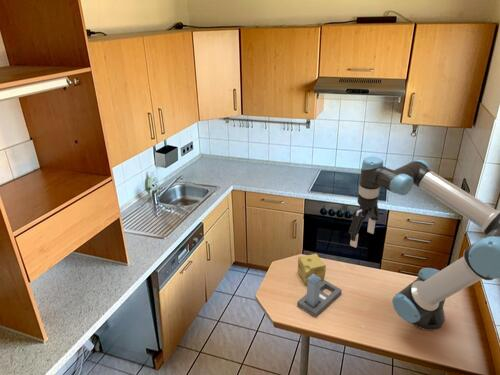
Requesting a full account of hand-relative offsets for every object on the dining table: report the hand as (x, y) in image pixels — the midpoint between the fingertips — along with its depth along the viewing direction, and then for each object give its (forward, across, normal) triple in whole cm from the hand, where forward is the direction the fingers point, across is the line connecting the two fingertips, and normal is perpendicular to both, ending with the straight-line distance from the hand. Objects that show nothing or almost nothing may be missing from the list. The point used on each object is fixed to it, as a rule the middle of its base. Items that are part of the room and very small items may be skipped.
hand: (362, 239), depth 159 cm
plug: (+32, +18, -10) cm, 38 cm away
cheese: (+32, +3, -23) cm, 39 cm away
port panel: (+32, +13, -10) cm, 36 cm away
